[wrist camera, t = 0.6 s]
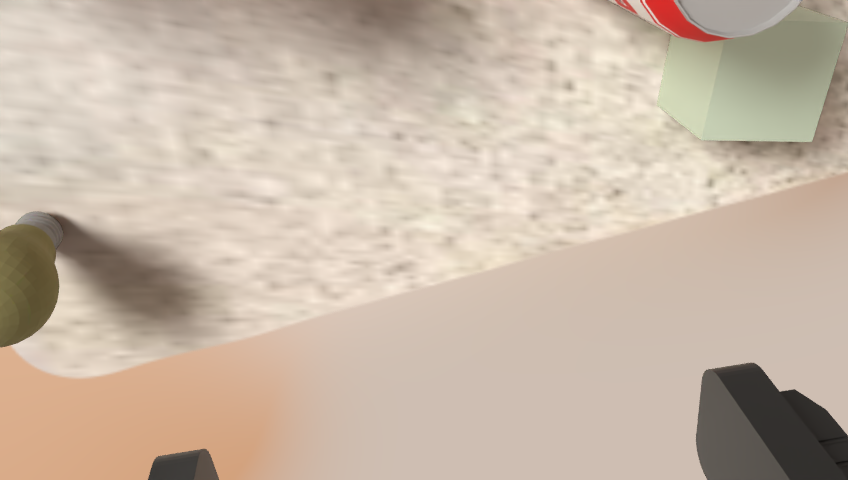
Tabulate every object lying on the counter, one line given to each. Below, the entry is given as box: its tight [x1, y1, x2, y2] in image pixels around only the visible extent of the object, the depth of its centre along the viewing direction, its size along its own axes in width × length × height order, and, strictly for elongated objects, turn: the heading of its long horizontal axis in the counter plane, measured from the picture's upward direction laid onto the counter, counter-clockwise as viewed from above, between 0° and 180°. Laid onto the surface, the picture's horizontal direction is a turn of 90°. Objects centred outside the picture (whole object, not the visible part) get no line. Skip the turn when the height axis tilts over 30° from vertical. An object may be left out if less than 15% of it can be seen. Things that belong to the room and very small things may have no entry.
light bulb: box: [0, 212, 63, 347], centre depth 38 cm, size 6×6×10 cm
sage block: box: [657, 6, 848, 142], centre depth 39 cm, size 6×6×6 cm
